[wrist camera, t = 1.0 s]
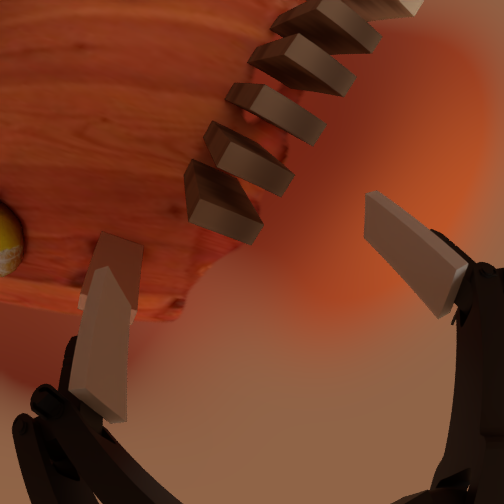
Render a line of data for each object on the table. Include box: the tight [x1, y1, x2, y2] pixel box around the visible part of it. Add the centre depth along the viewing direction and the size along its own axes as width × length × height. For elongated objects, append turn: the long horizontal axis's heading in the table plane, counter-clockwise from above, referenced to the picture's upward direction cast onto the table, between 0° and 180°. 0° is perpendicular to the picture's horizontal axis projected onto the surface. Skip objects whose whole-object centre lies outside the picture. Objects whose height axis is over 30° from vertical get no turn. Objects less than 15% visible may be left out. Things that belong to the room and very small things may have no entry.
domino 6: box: [184, 159, 264, 245], centre depth 29 cm, size 6×2×12 cm, turn 60°
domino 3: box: [247, 33, 356, 97], centre depth 23 cm, size 6×2×12 cm, turn 60°
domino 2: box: [270, 0, 382, 55], centre depth 21 cm, size 6×2×12 cm, turn 60°
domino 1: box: [78, 232, 144, 325], centre depth 31 cm, size 6×2×12 cm, turn 60°
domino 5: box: [203, 121, 295, 197], centre depth 27 cm, size 6×2×12 cm, turn 60°
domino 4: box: [225, 83, 327, 146], centre depth 25 cm, size 6×2×12 cm, turn 60°
